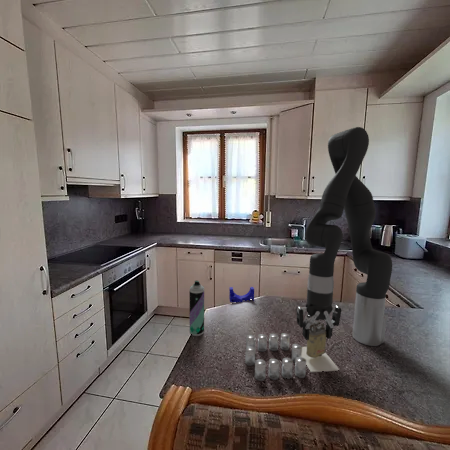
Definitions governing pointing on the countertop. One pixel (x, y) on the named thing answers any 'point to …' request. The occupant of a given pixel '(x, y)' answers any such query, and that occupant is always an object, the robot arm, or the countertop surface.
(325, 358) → the tile
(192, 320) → the spray can
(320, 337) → the cream metal oval canister
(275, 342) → the spacers
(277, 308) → the countertop surface
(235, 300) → the cable clip
